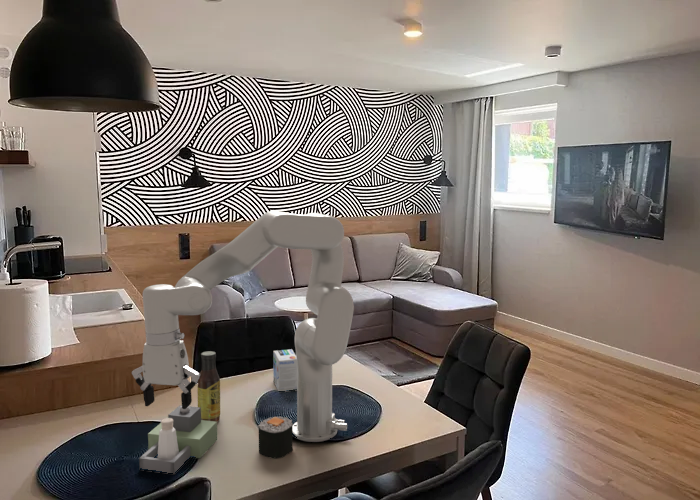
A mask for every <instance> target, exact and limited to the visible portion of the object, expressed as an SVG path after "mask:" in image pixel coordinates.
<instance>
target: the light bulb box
mask: <svg viewBox="0 0 700 500" xmlns="http://www.w3.org/2000/svg"><path fill="white" fill-rule="evenodd" d="M272 355H273V357H272V360H273V365H272V366H273V367H272V368H273V370H272V371H273V372H272V373H273V376H272V377H273V382H274V384H275V387H276V391H277V392H278V391H285V392H287V391H286V390H293V389H297V357H296V352H294V350H293V349H292V348H291V349H290V348H289V349H281V350H273V353H272Z"/></svg>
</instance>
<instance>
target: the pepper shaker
mask: <svg viewBox="0 0 700 500" xmlns="http://www.w3.org/2000/svg"><path fill="white" fill-rule="evenodd" d="M160 423H161V424H162V429H161V430H160V431H159V442H158V456H157V458H162V459H170V460H173V459H174V458H175V457H176V456H177V455H178V454H179V449H178V443H177V436H176V430H175V428H174V427H173V419H172V418H167V417H165V418H163V419H161V421H160Z"/></svg>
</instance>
